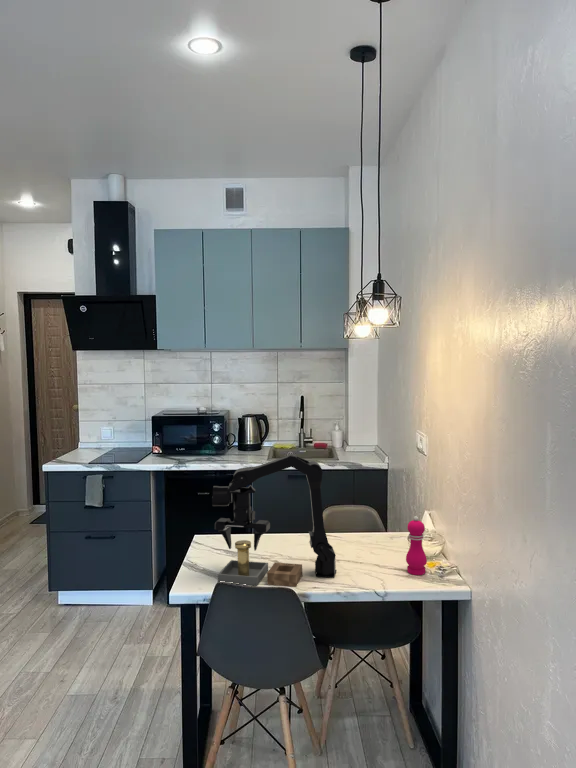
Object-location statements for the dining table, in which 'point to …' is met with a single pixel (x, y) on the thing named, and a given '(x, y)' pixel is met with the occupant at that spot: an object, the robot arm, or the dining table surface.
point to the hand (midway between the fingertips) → (242, 549)
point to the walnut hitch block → (284, 574)
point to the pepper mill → (416, 548)
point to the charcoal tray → (255, 576)
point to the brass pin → (243, 556)
